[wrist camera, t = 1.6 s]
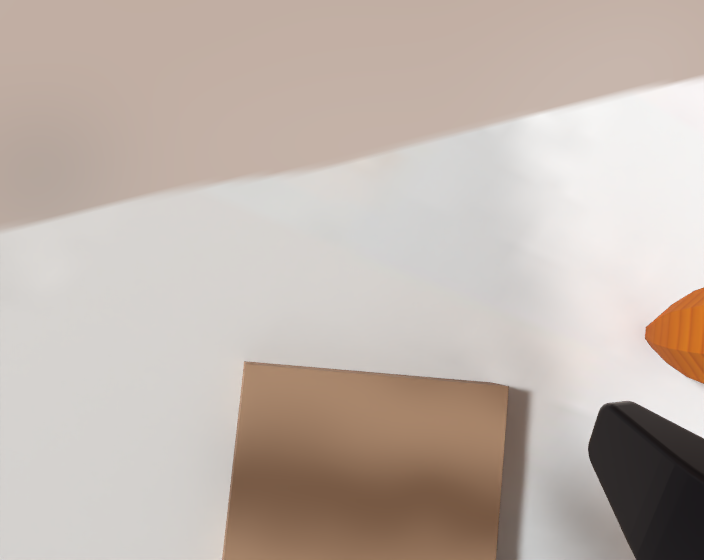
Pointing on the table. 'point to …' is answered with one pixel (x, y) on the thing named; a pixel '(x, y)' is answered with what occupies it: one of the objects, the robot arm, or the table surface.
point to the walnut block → (364, 466)
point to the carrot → (681, 335)
